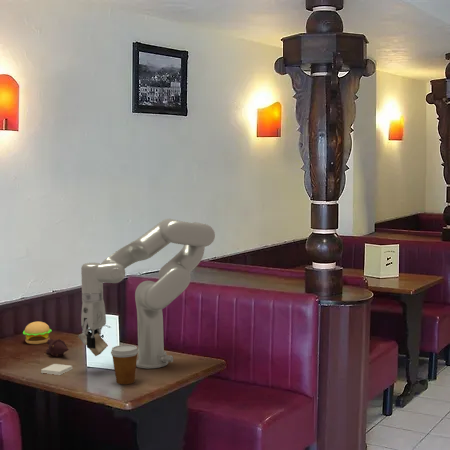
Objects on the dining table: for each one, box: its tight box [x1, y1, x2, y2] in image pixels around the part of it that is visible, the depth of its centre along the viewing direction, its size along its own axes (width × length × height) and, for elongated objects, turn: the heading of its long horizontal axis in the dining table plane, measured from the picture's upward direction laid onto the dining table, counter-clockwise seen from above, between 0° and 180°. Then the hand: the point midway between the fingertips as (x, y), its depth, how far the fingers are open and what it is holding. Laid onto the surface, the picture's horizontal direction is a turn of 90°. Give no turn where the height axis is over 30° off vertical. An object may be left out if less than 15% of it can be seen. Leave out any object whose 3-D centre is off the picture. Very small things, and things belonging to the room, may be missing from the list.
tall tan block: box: [77, 332, 109, 357], centre depth 260 cm, size 10×4×5 cm
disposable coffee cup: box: [110, 344, 138, 385], centre depth 248 cm, size 10×10×12 cm
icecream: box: [45, 338, 70, 358], centre depth 283 cm, size 7×7×15 cm
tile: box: [40, 363, 73, 376], centre depth 263 cm, size 2×8×8 cm
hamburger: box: [22, 320, 52, 345], centre depth 307 cm, size 12×12×9 cm
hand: (93, 346), depth 260 cm, fingers closed on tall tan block, 2 cm apart
